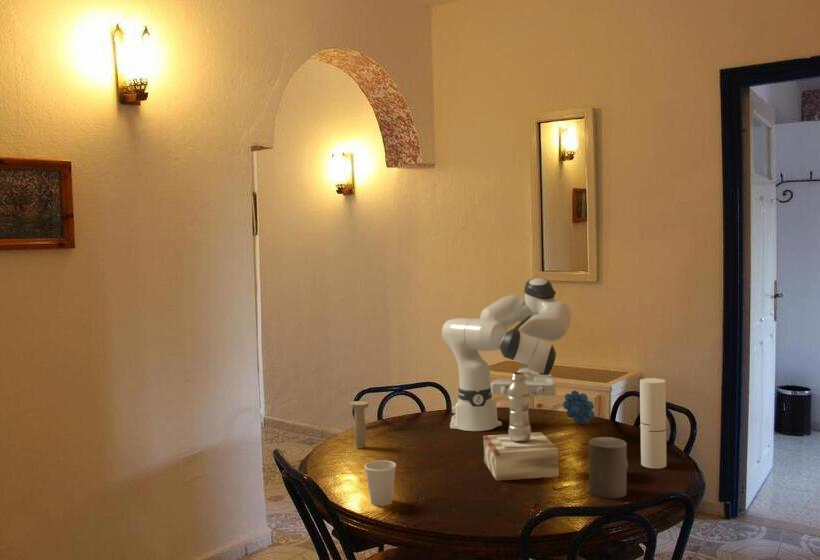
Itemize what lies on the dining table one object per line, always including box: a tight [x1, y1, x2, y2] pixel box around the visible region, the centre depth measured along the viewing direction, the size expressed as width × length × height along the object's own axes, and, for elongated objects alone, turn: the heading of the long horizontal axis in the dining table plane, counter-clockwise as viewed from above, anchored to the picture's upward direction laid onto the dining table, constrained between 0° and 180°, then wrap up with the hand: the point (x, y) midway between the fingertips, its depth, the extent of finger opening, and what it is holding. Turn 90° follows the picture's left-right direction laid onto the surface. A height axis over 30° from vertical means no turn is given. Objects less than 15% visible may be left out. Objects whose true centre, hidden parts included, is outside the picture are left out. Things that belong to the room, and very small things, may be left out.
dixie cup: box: [363, 459, 397, 507], centre depth 199 cm, size 8×8×10 cm
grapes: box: [562, 390, 596, 425], centre depth 270 cm, size 12×7×12 cm, turn 58°
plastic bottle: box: [506, 372, 532, 442], centre depth 222 cm, size 6×7×20 cm
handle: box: [349, 400, 369, 449], centre depth 250 cm, size 5×6×15 cm
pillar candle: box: [588, 436, 628, 500], centre depth 200 cm, size 10×10×15 cm
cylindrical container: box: [639, 377, 667, 470], centre depth 221 cm, size 7×7×25 cm
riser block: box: [482, 431, 560, 481], centre depth 222 cm, size 18×18×8 cm
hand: (520, 392), depth 231 cm, fingers open, 8 cm apart
